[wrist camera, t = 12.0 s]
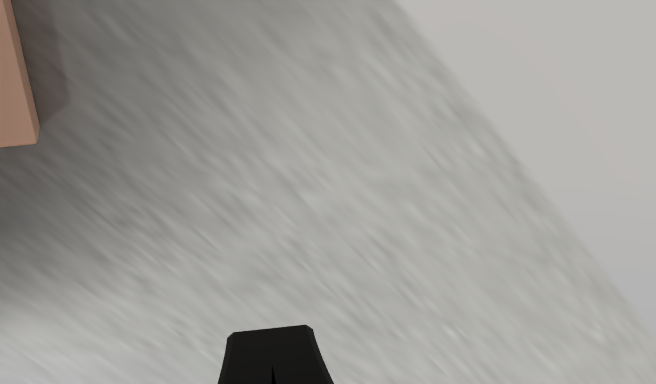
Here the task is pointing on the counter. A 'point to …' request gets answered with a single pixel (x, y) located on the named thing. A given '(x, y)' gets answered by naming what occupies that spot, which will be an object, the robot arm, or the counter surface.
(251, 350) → the robot arm
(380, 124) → the counter surface
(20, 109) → the tile
